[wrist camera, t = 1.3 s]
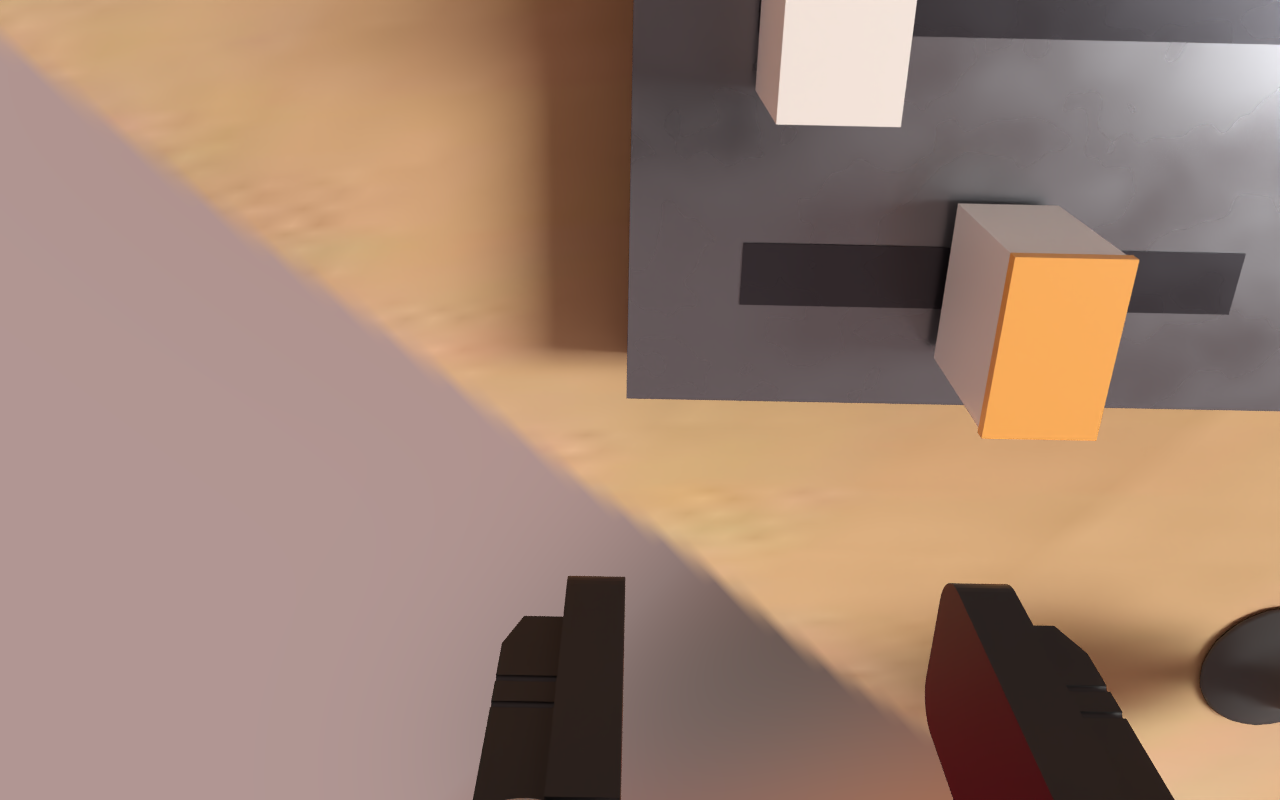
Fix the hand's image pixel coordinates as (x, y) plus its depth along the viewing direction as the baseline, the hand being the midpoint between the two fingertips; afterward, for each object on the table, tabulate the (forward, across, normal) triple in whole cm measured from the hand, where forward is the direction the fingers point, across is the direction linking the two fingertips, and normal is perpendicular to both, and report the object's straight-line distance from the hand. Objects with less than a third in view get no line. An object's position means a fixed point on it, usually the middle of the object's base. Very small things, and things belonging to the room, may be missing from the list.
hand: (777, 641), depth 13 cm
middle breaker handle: (+14, -2, -6) cm, 15 cm away
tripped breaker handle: (+14, -7, 0) cm, 16 cm away
